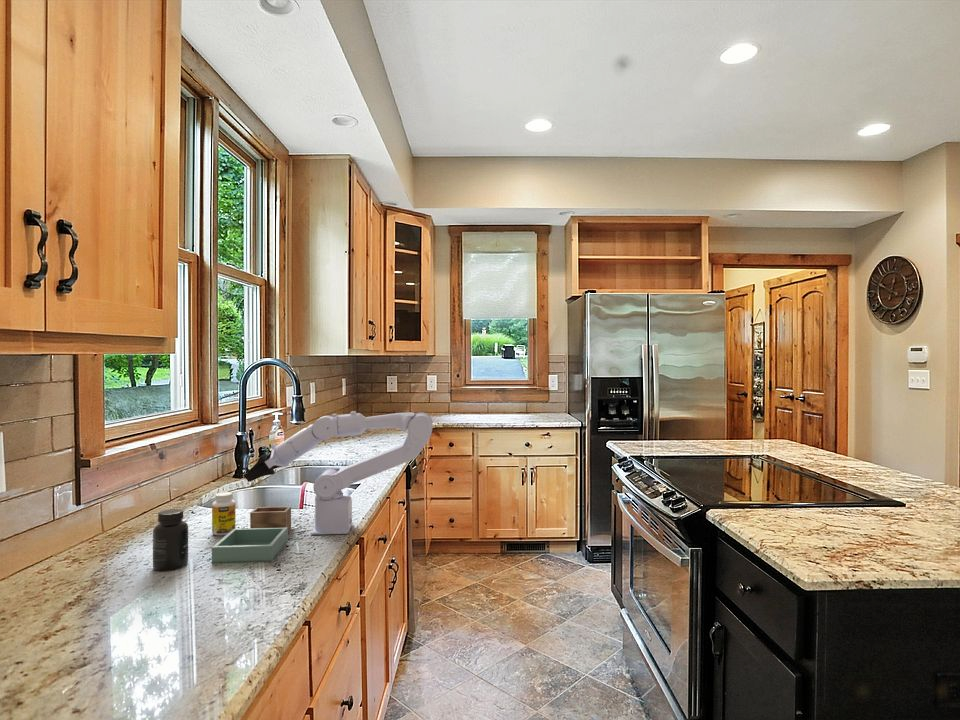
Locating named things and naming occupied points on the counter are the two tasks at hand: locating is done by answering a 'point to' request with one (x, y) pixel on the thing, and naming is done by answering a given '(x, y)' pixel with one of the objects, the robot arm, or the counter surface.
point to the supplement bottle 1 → (170, 541)
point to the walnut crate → (271, 517)
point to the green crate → (250, 545)
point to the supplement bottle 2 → (223, 514)
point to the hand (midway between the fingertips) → (251, 475)
